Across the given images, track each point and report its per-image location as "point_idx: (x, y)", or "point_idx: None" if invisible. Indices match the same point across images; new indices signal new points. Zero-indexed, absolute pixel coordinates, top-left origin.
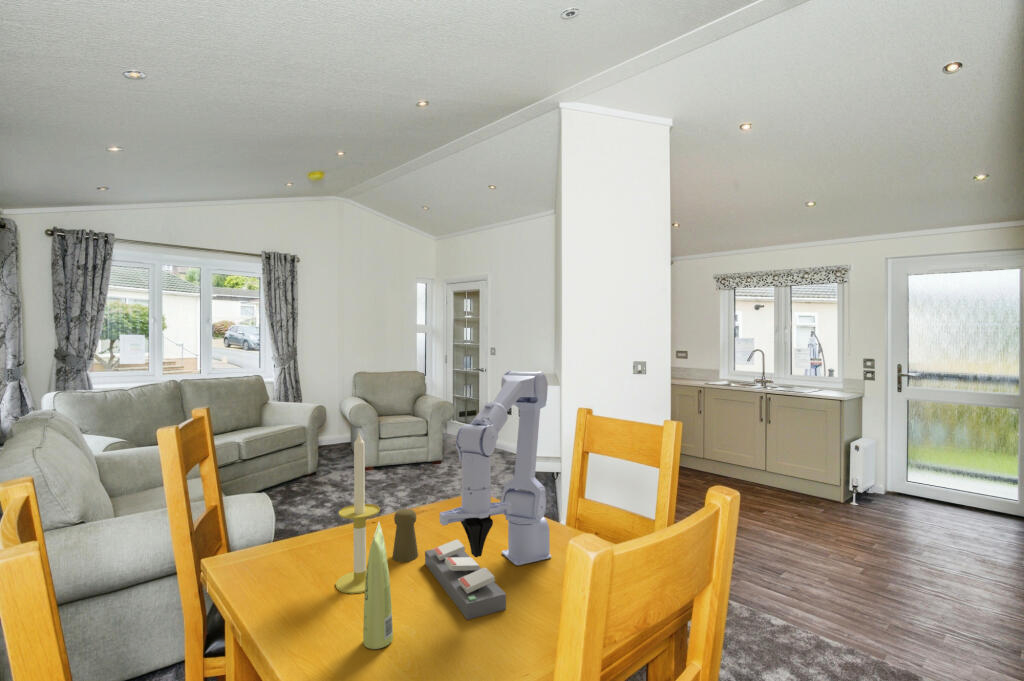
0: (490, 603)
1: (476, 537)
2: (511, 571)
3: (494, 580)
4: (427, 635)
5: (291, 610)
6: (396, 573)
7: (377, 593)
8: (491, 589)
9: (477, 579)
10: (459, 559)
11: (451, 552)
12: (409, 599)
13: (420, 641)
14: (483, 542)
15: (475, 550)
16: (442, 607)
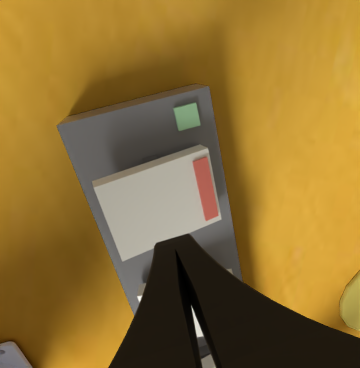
0: (120, 106)
1: (226, 304)
2: (31, 316)
3: (94, 182)
4: (313, 31)
5: None
6: (311, 319)
7: None
8: (109, 167)
9: (161, 190)
10: (198, 324)
11: (211, 365)
12: (312, 214)
13: (336, 4)
14: (152, 290)
15: (200, 247)
16: (247, 165)
